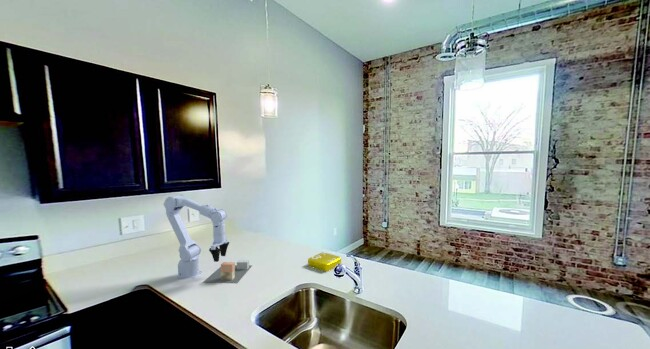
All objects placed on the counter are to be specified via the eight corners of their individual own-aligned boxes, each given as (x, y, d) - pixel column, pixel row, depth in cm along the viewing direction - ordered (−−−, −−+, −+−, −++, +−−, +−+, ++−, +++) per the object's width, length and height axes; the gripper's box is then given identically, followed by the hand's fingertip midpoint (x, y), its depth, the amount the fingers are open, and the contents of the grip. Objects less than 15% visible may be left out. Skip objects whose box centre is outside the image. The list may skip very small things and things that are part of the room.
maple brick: (220, 279, 132) (220, 272, 132) (223, 277, 135) (223, 269, 135) (232, 279, 131) (232, 272, 131) (234, 277, 134) (234, 269, 134)
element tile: (326, 273, 140) (326, 264, 140) (306, 266, 150) (306, 258, 149) (342, 264, 152) (342, 256, 152) (322, 258, 161) (322, 251, 161)
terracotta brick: (220, 272, 132) (220, 264, 131) (223, 269, 135) (223, 262, 134) (232, 272, 131) (232, 264, 131) (234, 269, 134) (234, 262, 134)
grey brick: (236, 269, 145) (236, 262, 144) (239, 267, 148) (238, 260, 147) (247, 269, 144) (247, 262, 144) (249, 267, 147) (249, 260, 147)
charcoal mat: (202, 283, 129) (202, 282, 129) (222, 265, 151) (222, 265, 151) (237, 284, 128) (237, 283, 128) (252, 266, 150) (252, 265, 150)
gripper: (220, 237, 128) (220, 264, 128) (232, 229, 142) (233, 253, 143) (206, 237, 128) (207, 263, 129) (220, 229, 143) (220, 253, 143)
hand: (219, 258), depth 136 cm, fingers open, 7 cm apart
